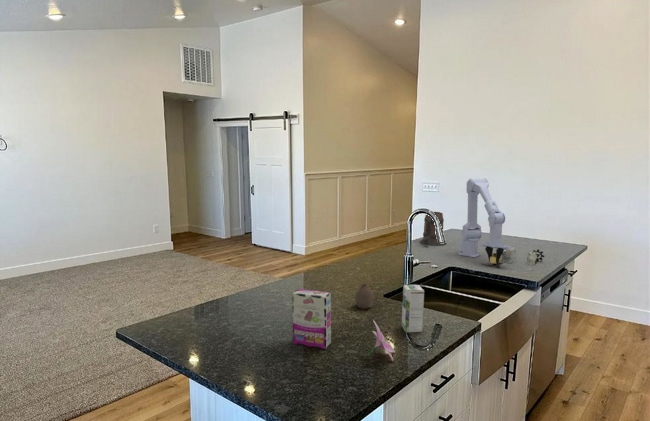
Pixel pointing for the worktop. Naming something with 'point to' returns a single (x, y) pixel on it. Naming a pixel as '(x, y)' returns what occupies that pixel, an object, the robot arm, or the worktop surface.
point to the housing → (508, 255)
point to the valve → (534, 257)
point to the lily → (382, 342)
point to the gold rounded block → (493, 258)
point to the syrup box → (412, 308)
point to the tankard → (431, 230)
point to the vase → (363, 297)
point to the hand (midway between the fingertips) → (493, 261)
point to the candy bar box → (312, 318)
